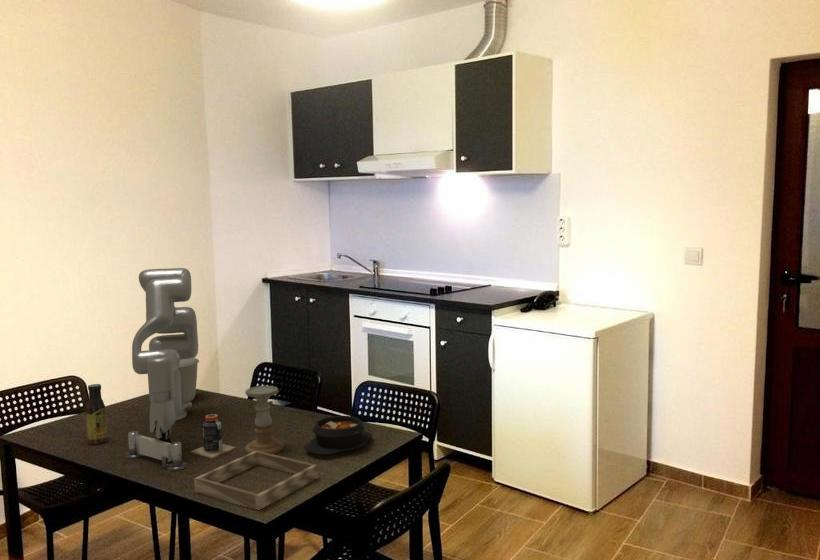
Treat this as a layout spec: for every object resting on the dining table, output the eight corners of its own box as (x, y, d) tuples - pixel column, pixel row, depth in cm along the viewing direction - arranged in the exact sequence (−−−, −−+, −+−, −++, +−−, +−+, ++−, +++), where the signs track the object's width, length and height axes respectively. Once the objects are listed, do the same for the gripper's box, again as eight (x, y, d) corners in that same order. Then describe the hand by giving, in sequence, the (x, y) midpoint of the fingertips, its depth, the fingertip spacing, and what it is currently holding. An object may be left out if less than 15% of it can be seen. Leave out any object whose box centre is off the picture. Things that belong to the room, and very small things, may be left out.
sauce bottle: (99, 445, 230) (95, 388, 228) (83, 444, 232) (79, 387, 229) (111, 439, 237) (107, 383, 235) (95, 438, 238) (91, 382, 236)
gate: (135, 452, 219) (134, 436, 218) (141, 450, 221) (139, 434, 220) (167, 462, 211) (166, 445, 210) (172, 460, 212) (171, 443, 212)
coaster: (214, 443, 230) (214, 441, 230) (235, 448, 225) (235, 447, 225) (190, 453, 222) (190, 451, 222) (212, 458, 217) (212, 457, 217)
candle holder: (267, 440, 233) (264, 382, 230) (291, 448, 225) (289, 388, 223) (237, 451, 223) (234, 391, 221) (261, 459, 215) (258, 397, 213)
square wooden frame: (256, 462, 213) (255, 450, 212) (318, 478, 200) (317, 464, 200) (194, 492, 192) (194, 478, 192) (259, 511, 179) (258, 496, 179)
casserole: (332, 465, 210) (331, 438, 209) (291, 452, 222) (290, 427, 221) (385, 441, 230) (384, 417, 229) (345, 431, 241) (344, 407, 240)
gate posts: (120, 456, 220) (118, 434, 219) (136, 450, 225) (134, 428, 224) (176, 472, 207) (174, 448, 206) (191, 465, 212) (190, 442, 211)
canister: (146, 402, 280) (143, 352, 278) (187, 392, 293) (184, 344, 291) (168, 411, 268) (165, 358, 265) (209, 400, 281) (206, 350, 279)
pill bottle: (226, 447, 225) (224, 414, 223) (212, 453, 220) (210, 419, 218) (214, 444, 228) (212, 411, 227) (199, 450, 223) (198, 416, 222)
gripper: (158, 387, 222) (162, 440, 225) (140, 402, 207) (144, 459, 210) (181, 387, 222) (185, 440, 225) (165, 402, 207) (168, 459, 210)
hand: (165, 449), depth 218 cm, fingers closed
